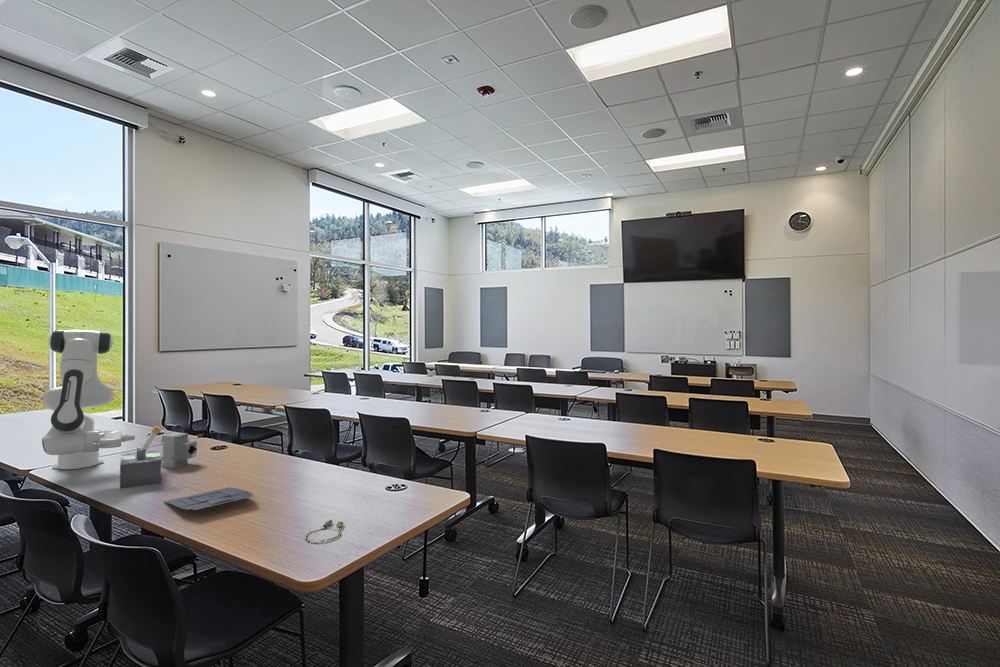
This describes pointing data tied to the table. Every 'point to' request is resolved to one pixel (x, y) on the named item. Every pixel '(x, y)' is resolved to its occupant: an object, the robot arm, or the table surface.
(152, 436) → the lever
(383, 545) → the table surface
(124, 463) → the box
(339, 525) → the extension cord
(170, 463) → the circuit breaker
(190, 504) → the dark blue panel
